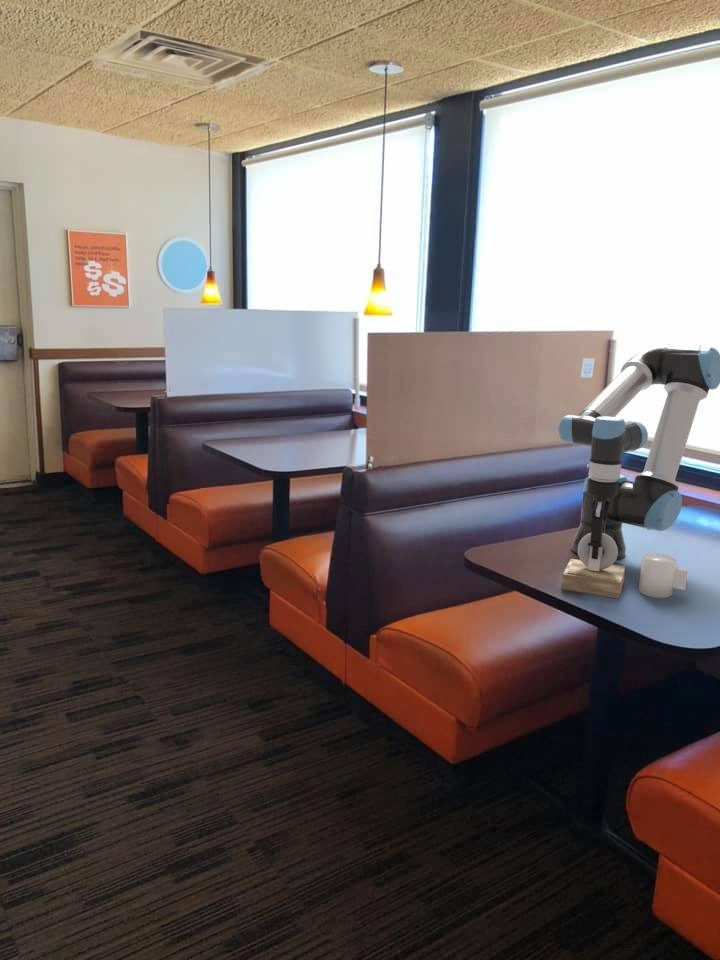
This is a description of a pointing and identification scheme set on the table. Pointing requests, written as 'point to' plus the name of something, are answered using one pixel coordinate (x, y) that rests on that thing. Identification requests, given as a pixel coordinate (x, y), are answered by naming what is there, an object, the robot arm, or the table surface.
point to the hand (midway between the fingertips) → (594, 567)
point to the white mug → (660, 576)
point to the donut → (607, 545)
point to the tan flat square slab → (593, 579)
